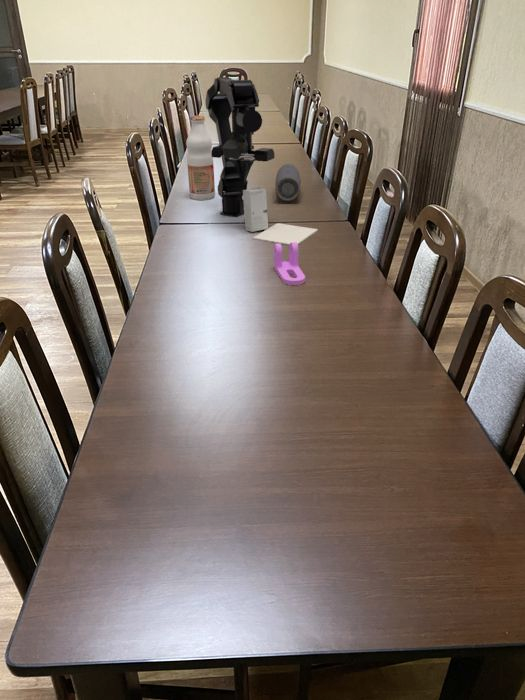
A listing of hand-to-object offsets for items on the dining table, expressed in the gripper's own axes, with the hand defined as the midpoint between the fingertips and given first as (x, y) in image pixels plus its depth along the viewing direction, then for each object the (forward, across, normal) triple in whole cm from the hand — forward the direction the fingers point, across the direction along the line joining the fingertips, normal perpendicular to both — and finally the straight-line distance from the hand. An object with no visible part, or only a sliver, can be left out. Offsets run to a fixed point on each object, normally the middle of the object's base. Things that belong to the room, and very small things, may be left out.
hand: (243, 182), depth 165 cm
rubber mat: (+13, +16, -4) cm, 21 cm away
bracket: (+14, +30, -32) cm, 46 cm away
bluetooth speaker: (+13, -1, +38) cm, 40 cm away
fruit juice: (+13, -30, +23) cm, 40 cm away
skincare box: (+13, +6, -3) cm, 15 cm away
